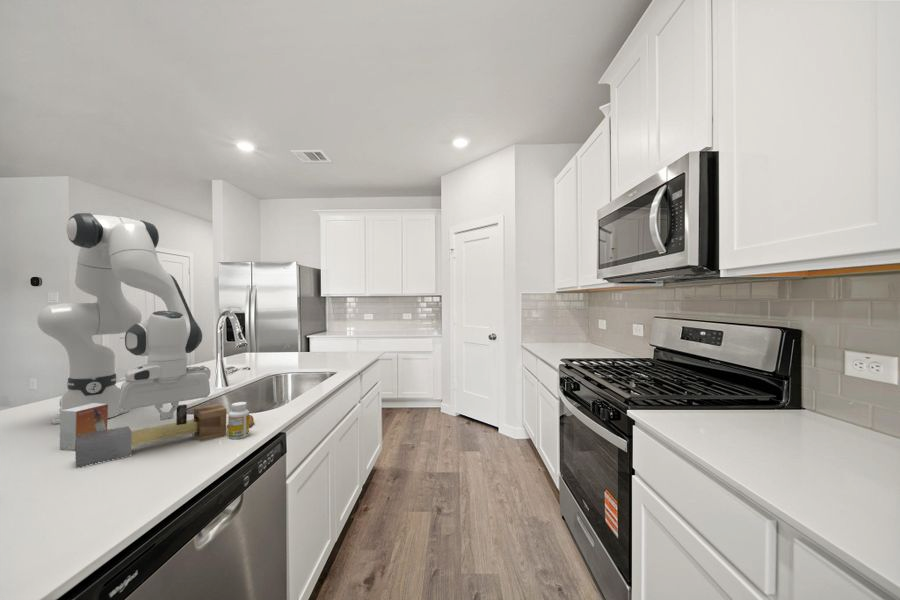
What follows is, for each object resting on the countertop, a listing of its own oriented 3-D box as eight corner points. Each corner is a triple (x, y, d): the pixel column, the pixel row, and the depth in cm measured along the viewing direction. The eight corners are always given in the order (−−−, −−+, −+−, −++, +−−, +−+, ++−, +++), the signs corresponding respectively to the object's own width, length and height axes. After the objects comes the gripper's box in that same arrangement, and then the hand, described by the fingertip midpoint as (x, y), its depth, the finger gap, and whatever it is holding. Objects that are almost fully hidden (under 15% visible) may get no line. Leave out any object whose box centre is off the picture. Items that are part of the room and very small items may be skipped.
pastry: (236, 421, 124) (236, 410, 124) (258, 420, 126) (258, 409, 126) (225, 431, 115) (225, 418, 115) (249, 430, 116) (249, 417, 116)
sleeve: (75, 460, 93) (75, 435, 93) (128, 449, 100) (128, 426, 100) (76, 468, 88) (76, 441, 88) (131, 455, 96) (131, 431, 96)
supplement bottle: (241, 431, 114) (241, 400, 114) (253, 434, 112) (253, 402, 112) (224, 437, 109) (224, 404, 109) (236, 440, 107) (236, 406, 107)
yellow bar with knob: (122, 444, 98) (123, 413, 98) (210, 426, 112) (210, 399, 112) (124, 447, 96) (124, 416, 96) (213, 428, 110) (213, 401, 110)
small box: (74, 451, 98) (75, 411, 99) (58, 449, 100) (59, 410, 100) (108, 440, 106) (108, 403, 106) (92, 438, 107) (93, 402, 108)
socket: (193, 434, 111) (193, 407, 111) (218, 429, 116) (218, 403, 116) (200, 441, 106) (200, 413, 106) (226, 435, 111) (226, 408, 111)
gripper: (207, 363, 113) (207, 409, 113) (118, 372, 98) (117, 424, 98) (213, 366, 109) (212, 413, 109) (120, 375, 94) (119, 430, 94)
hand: (166, 418), depth 103 cm, fingers closed
